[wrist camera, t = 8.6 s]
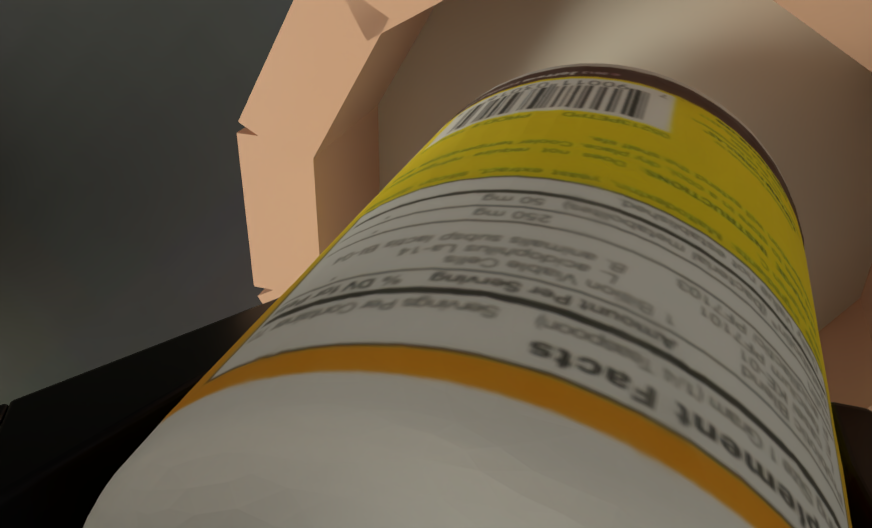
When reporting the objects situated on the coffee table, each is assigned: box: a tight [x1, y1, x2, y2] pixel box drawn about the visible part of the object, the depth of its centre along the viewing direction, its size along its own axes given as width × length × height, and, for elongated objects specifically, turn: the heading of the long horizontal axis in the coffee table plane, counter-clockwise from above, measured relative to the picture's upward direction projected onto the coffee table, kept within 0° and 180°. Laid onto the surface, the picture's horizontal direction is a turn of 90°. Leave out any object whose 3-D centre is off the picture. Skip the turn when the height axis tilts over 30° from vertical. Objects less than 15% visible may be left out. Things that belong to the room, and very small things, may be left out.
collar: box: [237, 0, 872, 411], centre depth 12 cm, size 12×12×4 cm
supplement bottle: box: [83, 63, 852, 528], centre depth 8 cm, size 6×6×10 cm
